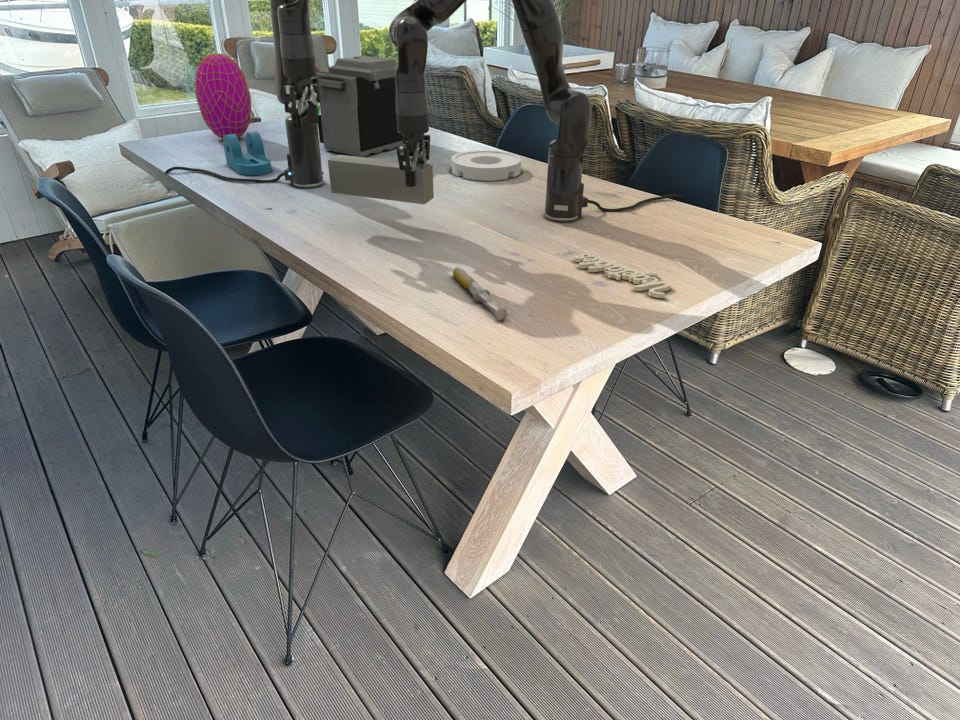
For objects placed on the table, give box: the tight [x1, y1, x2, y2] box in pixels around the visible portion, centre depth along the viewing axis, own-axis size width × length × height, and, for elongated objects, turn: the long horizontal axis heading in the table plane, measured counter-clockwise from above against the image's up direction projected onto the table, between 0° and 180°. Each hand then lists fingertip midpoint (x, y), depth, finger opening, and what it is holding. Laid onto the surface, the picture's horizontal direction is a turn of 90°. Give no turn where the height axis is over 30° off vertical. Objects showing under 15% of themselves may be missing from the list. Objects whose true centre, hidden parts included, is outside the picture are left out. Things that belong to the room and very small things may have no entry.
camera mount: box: [222, 131, 272, 176], centre depth 226 cm, size 18×10×10 cm, turn 35°
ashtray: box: [451, 149, 522, 182], centre depth 228 cm, size 23×23×4 cm
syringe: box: [452, 266, 509, 321], centre depth 145 cm, size 25×4×3 cm, turn 21°
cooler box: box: [315, 55, 403, 158], centre depth 250 cm, size 37×22×30 cm, turn 144°
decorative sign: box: [574, 252, 671, 299], centre depth 155 cm, size 26×1×10 cm
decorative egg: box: [194, 53, 252, 140], centre depth 258 cm, size 19×19×30 cm
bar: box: [327, 154, 435, 205], centre depth 171 cm, size 26×5×8 cm, turn 69°
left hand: (305, 126), depth 168 cm, fingers open, 8 cm apart
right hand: (416, 182), depth 168 cm, fingers closed on bar, 5 cm apart
